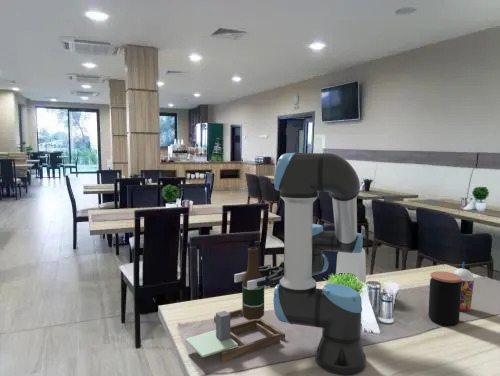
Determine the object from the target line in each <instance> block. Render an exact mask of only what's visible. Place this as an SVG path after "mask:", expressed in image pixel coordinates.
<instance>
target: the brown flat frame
mask: <svg viewBox="0 0 500 376" xmlns="http://www.w3.org/2000/svg"><path fill="white" fill-rule="evenodd" d="M227 312H228V311H227ZM228 313H229V314H230V319H231V318H235V317H238V316H242V317H244V315H243V310H242V308H239V309H235V310H232V311H229V312H228ZM213 321H214V323H216V315H214V316H213ZM254 330H257V331H258V332H259V333H261V334H262V335H264V336H266V337H263V338H260V339H257V340H253V341H251V342H248V343H246V342H245V341H244V340H242V339H241V338H240V337H238V335H241V334H244V333H248V332H251V331H254ZM230 337H231V339H232V340H233V341H235V342H236V343H237V344H238V346H236V347H233V348H230V349H227V350H224V351H221V352H220V356H221V357H220V360H221V361H220V362H221V363H223V364H224V363H226V362H230V361H233V360H235V359H237V358H241V357H244V356H247V355H249V354H253V353H254V352H255V353H256V352H258V351H261V350H264V349H267V348H270V347H272V346H275V345H278V344H280V343H281V340H282V341H284V340H286V333H284V332H283V331H281V330H280V329H279V328H276V326H274V325H272V324H271V323H270V322H267V321H266V320H264V319H262V317H261V318H260V319H253V320H251V319H247V321H243V322H240V323H235V324H232V325H230Z"/></svg>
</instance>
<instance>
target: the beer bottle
mask: <svg viewBox="0 0 500 376" xmlns="http://www.w3.org/2000/svg"><path fill="white" fill-rule="evenodd" d="M247 252H248V256H247V269H246V271H245V272H246V273H245V274H244V276H243V281H241V287H242V288H241V289H242V290H241V291H242V293H241V296H242V300H241V301H242V302H241V304H242V305H241V306H242V307H241V309H242V310H243V315H244V316H243V317H244V318H245V319H246V320H248V319H251V320H253V319H260V318H261V319H262V317H264V315H265V286H262V287H258V288H254V289H250V290H248V289H247V281H251V280H255V279H259V278H264V277H263V276H262V275H261V273H260V272H259V267H260V266H259V254H258V253H259V249H258V247H255V246H250V247H249V248H247Z"/></svg>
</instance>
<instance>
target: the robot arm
mask: <svg viewBox="0 0 500 376" xmlns="http://www.w3.org/2000/svg"><path fill="white" fill-rule="evenodd" d="M273 184H274V185H273V186H274V189H275V190H276V191H278V192H279V197H280V198H281V199H282V200H283V201H284V260H283V261H281V262H280V264H279V265H277V266H276V265H275V266H272V265H271V264H266V265H264V266H259V272H260V273H261V275H262V276H263V278H259V279H255V280H251V281H247V289H248V290H250V289H254V288H258V287H262V286H264V287H269V288H274V291H273V310H274V314H275V317H276V318H277V320H278V321H279V322H281V323H285V324H289V325H297V326H303V327H304V326H306V327H312V328H318V329H319V328H320V329H322V330H321V331H322V332H321V338H320V340H319V343H318V346H317V348H316V352H315V361H316V363H317V365H318V366H319V367H320V368H321V369H323V370H325V371H327V372H330V373H332V374H337V375H340V376H341V375H343V376H349V375H351V376H352V375H357V374H359V373H362V372H363V371H364V370H365V369H366V366H367V357H366V353H365V351H364V348H363V347H364V346H363V343H362V339H361V338H362V313H363V307H362V304H363V303H362V295H361V296H360V294H359V293H358V292H357V291H356V290H354V289H352V288H350V287H348V286H345V285H341V284H335V283H327V284H324V285H323V287H322V288H317V281H316V280H315V279H314V278H313V277H312V276H317V275H320V274H323V273H324V272H326V271H327V270H328V268H329V261H328V257H327V256H326V255H325V254H324V253H323V252H324V251H325V252H337V253H338V252H346V253H361V252H362V248H363V238H364V237H363V233H359V232H358V216H357V215H358V214H357V213H358V208H357V207H358V205H357V199H358V198H357V197H358V195H360V191H361V182H360V178H359V176H358V174H357V172H356V170H355V169H354V167H353V166H352V165H351V164H350V162H348V161H347V160H346V159H345V158H343V157H342V156H340V155H338V154H336V153H330V152H319V153H318V152H291V153H289V152H288V153H287V152H286V153H283V154H281V155H280V157H279V158H278V159H277V163H276V166H275V170H274V176H273ZM321 192H323V193H325V192H327V193H328V195H329V196H330V197H331V198H332V199H331V201H332V210H333V221H334V230H324V227H323V225H321V224H316V223H313V218H314V217H313V216H314V215H313V213H314V210H313V209H314V208H313V207H314V202H315V201H316V200H317V199H318V198H319V193H321ZM245 273H246V271H242V272H240V273H235V274H233V277H234V280H233V281H234V283H235V284H236V283H240V282H242V281H243V276H244V274H245Z"/></svg>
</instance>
